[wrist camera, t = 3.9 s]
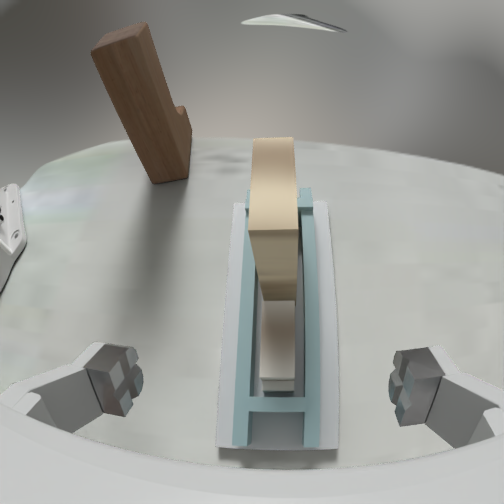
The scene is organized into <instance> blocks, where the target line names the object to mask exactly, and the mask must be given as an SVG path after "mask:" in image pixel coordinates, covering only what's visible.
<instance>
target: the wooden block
mask: <svg viewBox="0 0 504 504" xmlns="http://www.w3.org/2000/svg"><path fill="white" fill-rule="evenodd" d="M91 56H92V58H93V61H94V63H95V65H96V68H97V70H98V72H99V74H100V77H101V79H102V81H103V83H104V85H105V87H106V90H107V92H108V94H109V96H110V98H111V101H112V103H113V105H114V107H115V109H116V111H117V113H118V116H119V117H120V119H121V122H122V124H123V126H124V128H125V129H126V132H127V134H128V136H129V138H130V140H131V142H132V144H133V147H134V149H135V151H136V153H137V155H138V157H139V159H140V160H141V162H142V164H143V166H144V168H145V170H146V172H147V174H148V176H149V178H150V180H151V182H152V183H153V184H157V183H163V182H168V181H174V180H180V179H185V178H187V177H188V171H189V159H190V148H191V138H192V128H191V125H190V122H189V118H188V115H187V112H186V109H185V107H184V106H178V107H175V106H174V104H173V101H172V98H171V96H170V92H169V89H168V86H167V83H166V80H165V77H164V74H163V71H162V68H161V65H160V62H159V59H158V56H157V52H156V49H155V46H154V43H153V40H152V37H151V34H150V30H149V27H148V24H147V23H146V22H140V23H137V24H134V25H131V26H128V27H125V28H122V29H119V30H116V31H113V32H110V33H107V34H105V35H104V36H103V38H101V40H100V41H99V42H98V43H97V44H96V45H95V47H94V48H93V49H92V50H91Z"/></svg>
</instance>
